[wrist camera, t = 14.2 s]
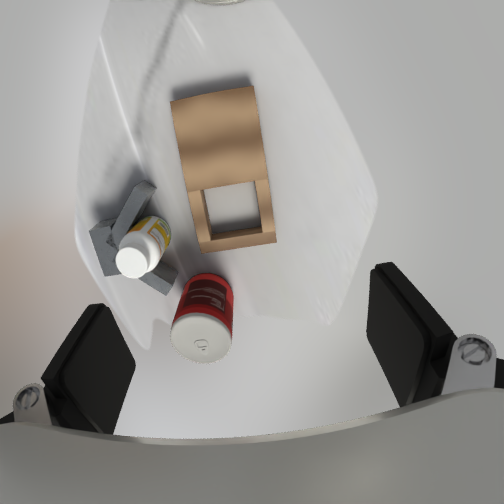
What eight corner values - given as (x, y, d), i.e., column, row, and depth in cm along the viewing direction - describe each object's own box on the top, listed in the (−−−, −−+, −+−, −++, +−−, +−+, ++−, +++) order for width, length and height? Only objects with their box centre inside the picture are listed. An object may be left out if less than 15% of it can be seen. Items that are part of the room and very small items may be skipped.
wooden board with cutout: (174, 103, 33) (170, 101, 31) (252, 88, 33) (253, 85, 31) (203, 246, 41) (201, 253, 39) (274, 235, 41) (276, 242, 39)
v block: (154, 178, 37) (145, 183, 34) (180, 280, 44) (175, 294, 40) (93, 193, 38) (80, 201, 34) (123, 288, 44) (114, 301, 40)
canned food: (201, 322, 47) (192, 370, 37) (173, 283, 44) (156, 329, 34) (243, 304, 46) (243, 352, 36) (217, 262, 43) (209, 306, 33)
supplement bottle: (133, 245, 41) (107, 276, 32) (139, 210, 39) (112, 235, 30) (167, 255, 42) (149, 289, 33) (175, 221, 40) (157, 249, 31)
